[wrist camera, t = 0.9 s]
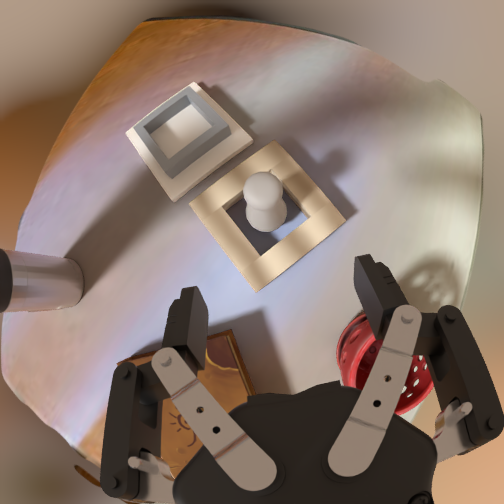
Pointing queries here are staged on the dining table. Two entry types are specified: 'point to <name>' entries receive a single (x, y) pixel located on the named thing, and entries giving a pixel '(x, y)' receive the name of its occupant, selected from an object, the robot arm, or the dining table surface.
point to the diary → (218, 385)
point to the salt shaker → (264, 201)
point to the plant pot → (364, 356)
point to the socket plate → (187, 140)
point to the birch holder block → (289, 248)
